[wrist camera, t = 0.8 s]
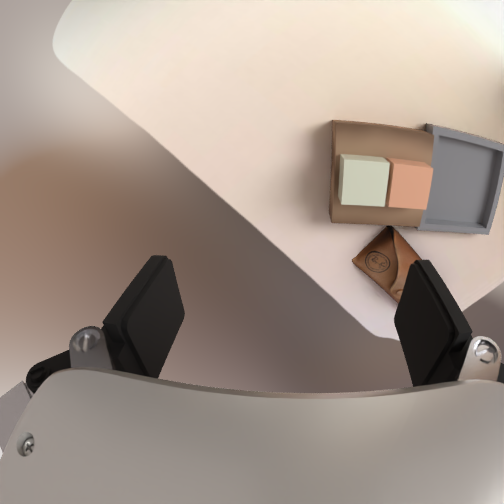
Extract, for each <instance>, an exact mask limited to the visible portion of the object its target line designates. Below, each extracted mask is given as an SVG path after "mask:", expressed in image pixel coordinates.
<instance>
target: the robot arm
mask: <svg viewBox="0 0 504 504" xmlns="http://www.w3.org/2000/svg"><path fill="white" fill-rule="evenodd" d="M184 314H185V313H184V308H183V304H182V300H181V296H180V292H179V289H178V284H177V281H176V276H175V272H174V268H173V264H172V261H171V260H170V259H168V258H167V256H159V255H154V256H151V257H150V259H149V260H148V261H147V262H146V264H145V265H144V266H143V268H142V269H141V270H140V272H139V273H138V274H137V275H136V277H135V278H134V279H133V281H132V282H131V283H130V285H129V286H128V287H127V289H126V290H125V291H124V293H123V294H122V296H121V297H120V298H119V300H118V301H117V302H116V304H115V305H114V306H113V308H112V309H111V311H110V312H109V313H108V315H107V316H106V318H105V319H104V321H103V324H104V326H103V327H102V329H100V328H99V327H95V326H88V327H84V328H82V329H80V330H79V331H77V332H76V333H75V334H74V335H73V336H72V338H71V340H70V344H69V350H67V351H65V352H63V353H60V354H58V355H56V356H53V357H51V358H49V359H46V360H44V361H42V362H39V363H37V364H36V365H34V366H33V367H32V368H31V369H30V370H29V372H28V374H27V377H26V383H24V382H23V381H22V382H20V383H19V384H17V385H16V386H15V387H14V388H12V389H11V390H10V391H8V392H7V393H6V394H4V395H3V396H2V397H1V398H0V447H1V449H2V451H3V455H2V457H1V459H0V504H504V364H502V363H501V352H500V349H499V347H498V345H497V344H496V343H495V342H494V341H493V340H491V339H489V338H487V337H484V336H479V337H475V338H474V339H473V338H472V336H471V333H472V330H471V328H470V326H469V324H468V322H467V320H466V319H465V317H464V315H463V313H462V311H461V310H460V308H459V306H458V304H457V303H456V301H455V299H454V298H453V296H452V294H451V293H450V291H449V290H448V288H447V286H446V285H445V283H444V282H443V280H442V278H441V277H440V275H439V274H438V272H437V271H436V269H435V268H434V266H433V265H432V263H431V262H430V261H429V260H415V261H414V263H412V264H411V265H410V267H409V270H408V274H407V278H406V281H405V285H404V288H403V291H402V295H401V298H400V301H399V304H398V307H397V310H396V313H395V317H394V323H395V327H396V330H397V333H398V336H399V339H400V342H401V345H402V348H403V352H404V355H405V358H406V362H407V365H408V369H409V373H410V376H411V380H412V384H413V387H409V388H400V389H392V390H380V391H369V392H352V393H273V392H258V391H244V390H234V389H224V388H215V387H207V386H200V385H193V384H186V383H180V382H174V381H168V380H163V379H158V377H159V374H160V372H161V370H162V367H163V365H164V363H165V360H166V358H167V356H168V353H169V351H170V349H171V346H172V344H173V342H174V340H175V337H176V335H177V333H178V330H179V328H180V326H181V324H182V322H183V319H184Z"/></svg>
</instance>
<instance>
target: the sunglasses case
mask: <svg viewBox="0 0 504 504" xmlns="http://www.w3.org/2000/svg"><path fill="white" fill-rule="evenodd" d="M415 260H422V259H421V258H420V257H419V255H418V254H417V253H416V252H415V251H414V250H413V248H412V247H411V246H410V245H409V244H408V243H407V241H406V240H405V239H404V238H403V237H402V236H401V235H400V234H399V232H398V231H397V230H395V229H394V228H393V227H392V226H386V228H385V229H384V230H383V231H382V232H381V233H380V234H379V235H378V236H377V237H376V238H375V239H374V240H373V241H371V242H370V243H369V244H368V245H367V246H366V247H365V248H364V249H363V250H362V251H361V252H360V253H359V254H358V255H357V256H356V257H355V258H353V259H352V262H353V263H354V264H355V265H356V266H357V267H358V268H359V269H361V270H362V271H363V272H364V273H365V274H367V275H368V276H369V277H370V278H371V279H373V280H374V281H375V282H376V283H377V284H378V285H379V286H380V287H382V288H383V289H384V290H385V291H386V292H387V293H388V294H389V295H390V296H391V297H392V298H393V299H394V300H395V301H396V302H397V303H398V304H399V301H400V298H401V295H402V291H403V288H404V285H405V281H406V278H407V274H408V270H409V267H410V265H411V264H412V263H414V261H415Z"/></svg>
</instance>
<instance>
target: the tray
mask: <svg viewBox="0 0 504 504" xmlns="http://www.w3.org/2000/svg"><path fill="white" fill-rule="evenodd" d="M426 132H428V133H431V134H433V135H434V144H433V153H432V161H431V167H432V168H433V175H432V181H431V187H430V193H429V198H428V203H427V208H426V210H423V214H422V219H421V223H420V227H415V228H416V229H417V230H427V231H443V232H459V233H473V234H486V235H489V232H490V229H491V225H492V222H493V219H494V215H495V211H496V208H497V204H498V200H499V195H500V191H501V187H502V182H503V177H504V144H502V143H499V142H496V141H493V140H490V139H487V138H483V137H480V136H477V135H473V134H469V133H466V132H462V131H458V130H454V129H450V128H445V127H441V126H436V125H432V124H427V123H426Z"/></svg>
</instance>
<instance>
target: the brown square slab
mask: <svg viewBox="0 0 504 504" xmlns="http://www.w3.org/2000/svg"><path fill="white" fill-rule="evenodd" d="M433 144H434V135H433V134H431V133H428V132H426V131H423V130H417V129H412V128H405V127H399V126H391V125H384V124H375V123H366V122H355V121H342V120H332V165H331V187H330V204H329V215H330V218H331V222H332V223H349V224H375V225H396V226H415V227H420V223H421V219H422V214H423V209H411V208H397V207H388V206H387V204H386V203H385V206H384V207H381V206H363V205H341V202H340V200H339V197H338V188H339V171H340V154H349V155H363V156H375V157H383V158H384V159H386V160H387V158H395V159H404V160H412V161H419V162H425V163H426V164H428V165H429V166H431V161H432V153H433Z"/></svg>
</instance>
